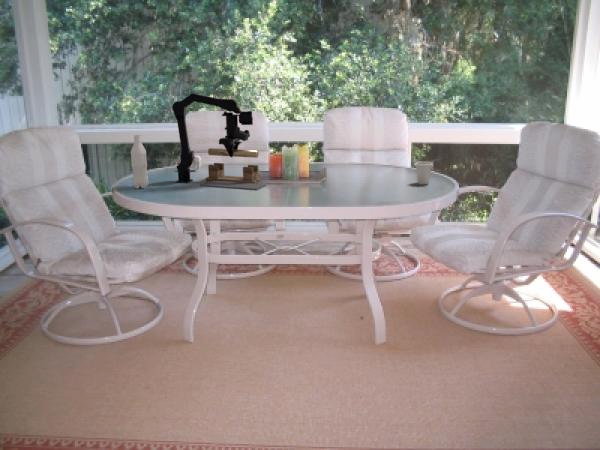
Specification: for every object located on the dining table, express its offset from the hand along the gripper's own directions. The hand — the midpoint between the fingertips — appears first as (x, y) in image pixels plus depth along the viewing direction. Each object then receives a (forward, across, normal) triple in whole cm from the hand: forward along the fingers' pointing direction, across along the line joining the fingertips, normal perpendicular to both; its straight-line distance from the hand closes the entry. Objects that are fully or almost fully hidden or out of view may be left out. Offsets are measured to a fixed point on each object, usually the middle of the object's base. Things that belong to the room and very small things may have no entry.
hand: (233, 156), depth 298 cm
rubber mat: (+12, -11, -5) cm, 17 cm away
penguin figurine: (+12, +19, +35) cm, 42 cm away
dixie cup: (+13, +25, -91) cm, 95 cm away
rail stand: (+12, 0, 0) cm, 12 cm away
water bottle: (+12, -29, +35) cm, 47 cm away
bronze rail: (-2, 0, 0) cm, 2 cm away
